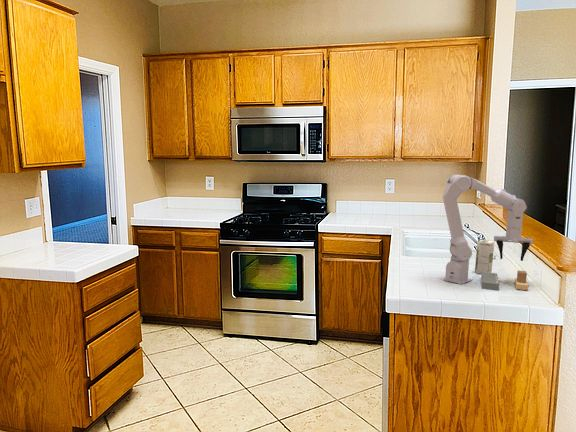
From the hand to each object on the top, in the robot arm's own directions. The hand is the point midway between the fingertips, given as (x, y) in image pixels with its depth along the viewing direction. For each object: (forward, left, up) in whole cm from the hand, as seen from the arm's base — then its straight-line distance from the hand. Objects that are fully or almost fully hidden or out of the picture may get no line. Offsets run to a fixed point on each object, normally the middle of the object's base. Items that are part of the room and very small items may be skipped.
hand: (511, 259), depth 195 cm
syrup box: (+5, +14, -10) cm, 18 cm away
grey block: (-10, +3, -9) cm, 14 cm away
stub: (-5, -7, -9) cm, 12 cm away
